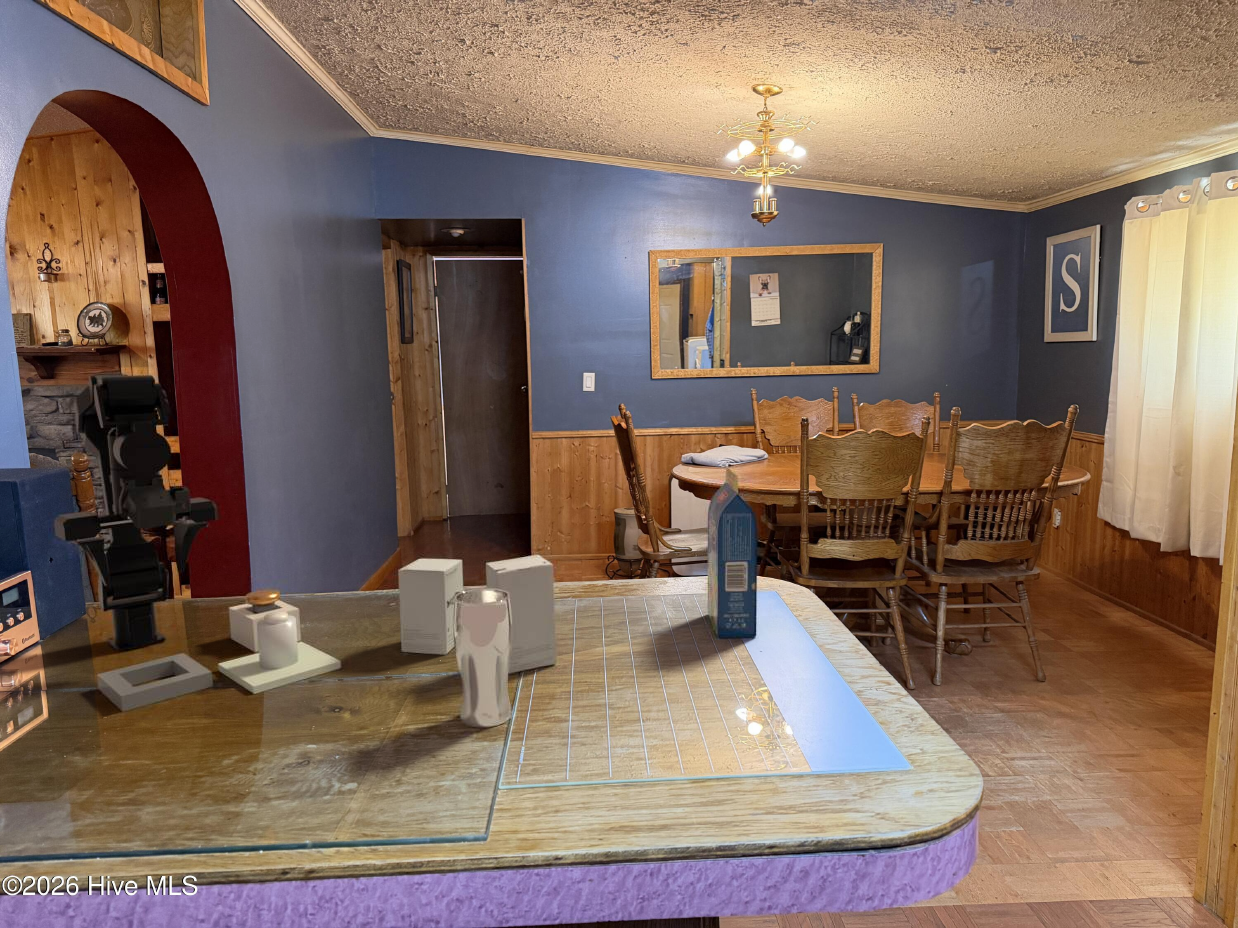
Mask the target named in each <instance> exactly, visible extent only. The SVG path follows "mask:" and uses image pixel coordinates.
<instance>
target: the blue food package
mask: <svg viewBox="0 0 1238 928" xmlns="http://www.w3.org/2000/svg"><path fill="white" fill-rule="evenodd" d="M707 511H708V512H707V614H708V619H709V621H710V622H711V626H712V628H713V631H714V634H716V636H717V638H754V637H757V607H758V606H757V605H758V604H757V602H758V601H757V596H758V591H757V590H758V584H757V583H758V581H757V580H758V523H757V519H756V516H755V512H754V511H753V509H752V508H751V506H750V505H749V504H748V503H747V502H746V501H745V499H744V498H743V497H742V496H741V495H740V494H739V475H737V474H736V473H735V472H734V471H733V470H732V469H731V468H729V467H728V466H727V465H726V466H725V482H724V483H723V484H722V485H721V487H720V488H719V489H718V490H717V491H716V492H715V493H714V495H713V496H712V498H711V499H710V502H709V505H708V510H707Z"/></svg>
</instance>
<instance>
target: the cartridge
mask: <svg viewBox="0 0 1238 928" xmlns="http://www.w3.org/2000/svg"><path fill="white" fill-rule="evenodd" d="M257 634H258V648H259V651H258V653H259V662H260V667H262V668H264V669H280V668H285V667H289V666H291V665H294V664H295V663H297V662H298V645H297V643H298V641H297V629H296V618H295V617H294V616H290V615H288V613H286V612H274V613H269V614H267V615H265V616H264V618H263V619H261V620H259V621H258V622H257Z"/></svg>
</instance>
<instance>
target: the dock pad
mask: <svg viewBox="0 0 1238 928" xmlns="http://www.w3.org/2000/svg"><path fill="white" fill-rule="evenodd" d="M297 645H298V662H297V663H295V664H294V665H291V666H289V667H285V668H280V669H264V668H262V667H260V662H259V652H256V653H254V654H250V655H246V656H241V657H239V658H235V659H231V660H227V661H223V662H220V663H218V664H217V667H218V672H220V673H222V674H223V675H225V677H228V678H229V679H231V680H232V681H234V682H235V683H237V684H238V685H240V686H241V687H243V688H245V689H246V690H247V691H249V692H250V693H252V694H253V695H254V694H258V693H262V692H265V691H268V690H272V689H275V688H278V687H283V686H285V685H289V684H292V683H296V682H298V681H302V680H305V679H309V678H312V677H316V676H319V675H323V674H326V673H329V672H333V671H336V670H339V669H341V668H342V663H341V662H342V661H341V660H339V659H338V658H335V657H333V656H331V655H329V654H327V653H326V652H324V651H321V650H319V649H317V648H315V647H313V646H312V645H309V644H308V643H305V642H303V641H297Z"/></svg>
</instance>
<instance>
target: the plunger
mask: <svg viewBox="0 0 1238 928" xmlns="http://www.w3.org/2000/svg"><path fill="white" fill-rule="evenodd" d="M280 595H281V593H280V590H277V589H260V590H255V591H252V592H248V593H247V594H246V595H245V604H250V605H252V611H253V613H254V614H259V613H263V612H267V611H272V610H275V602H276V601H278V600H280V599H281V596H280Z"/></svg>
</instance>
